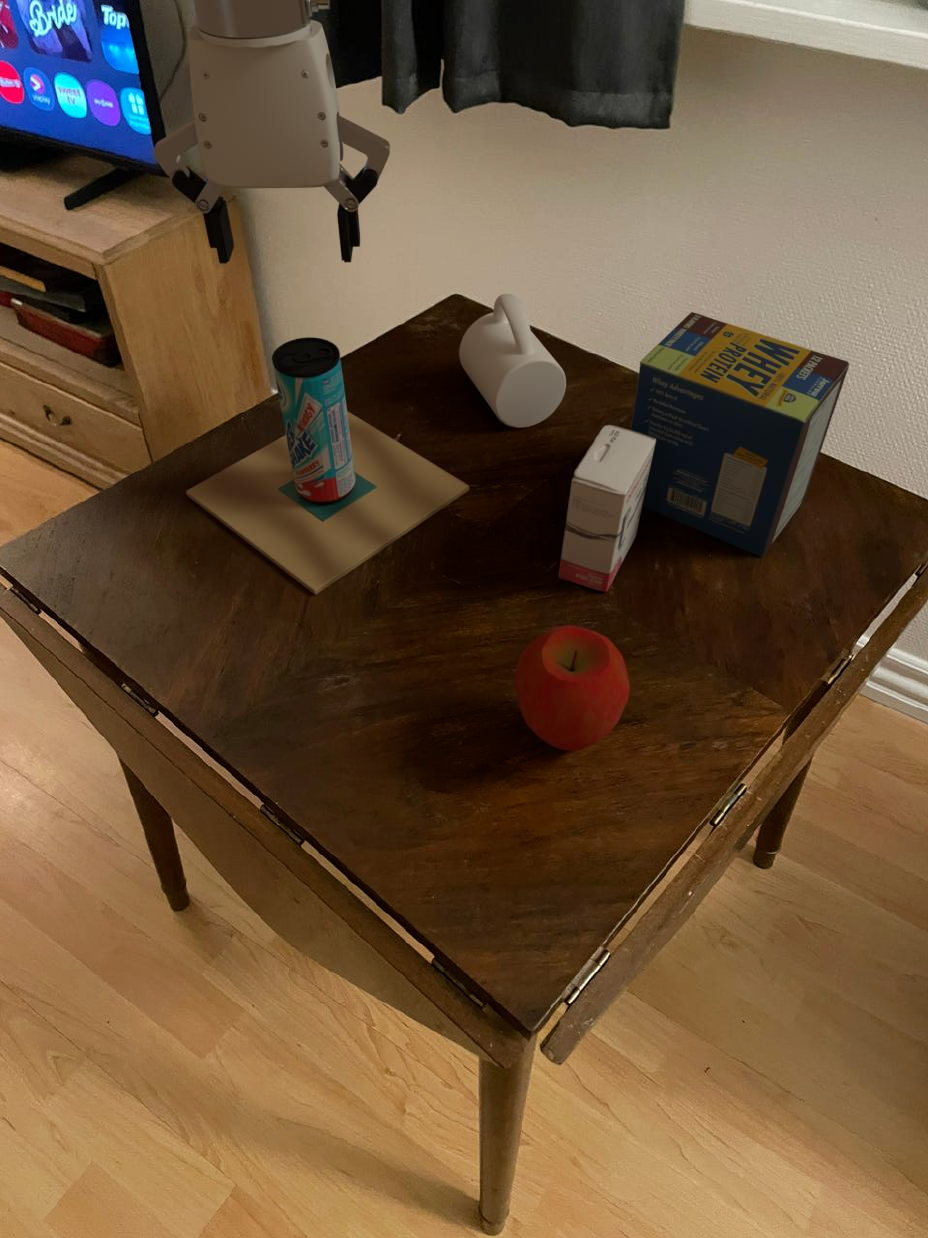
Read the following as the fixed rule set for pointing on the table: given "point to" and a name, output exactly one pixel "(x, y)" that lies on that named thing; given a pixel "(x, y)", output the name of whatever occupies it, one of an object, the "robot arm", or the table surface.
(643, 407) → the protein box
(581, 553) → the ink box
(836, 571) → the table surface
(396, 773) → the table surface
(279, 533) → the cork mat
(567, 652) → the apple
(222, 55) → the robot arm
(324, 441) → the beverage can
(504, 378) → the mug
